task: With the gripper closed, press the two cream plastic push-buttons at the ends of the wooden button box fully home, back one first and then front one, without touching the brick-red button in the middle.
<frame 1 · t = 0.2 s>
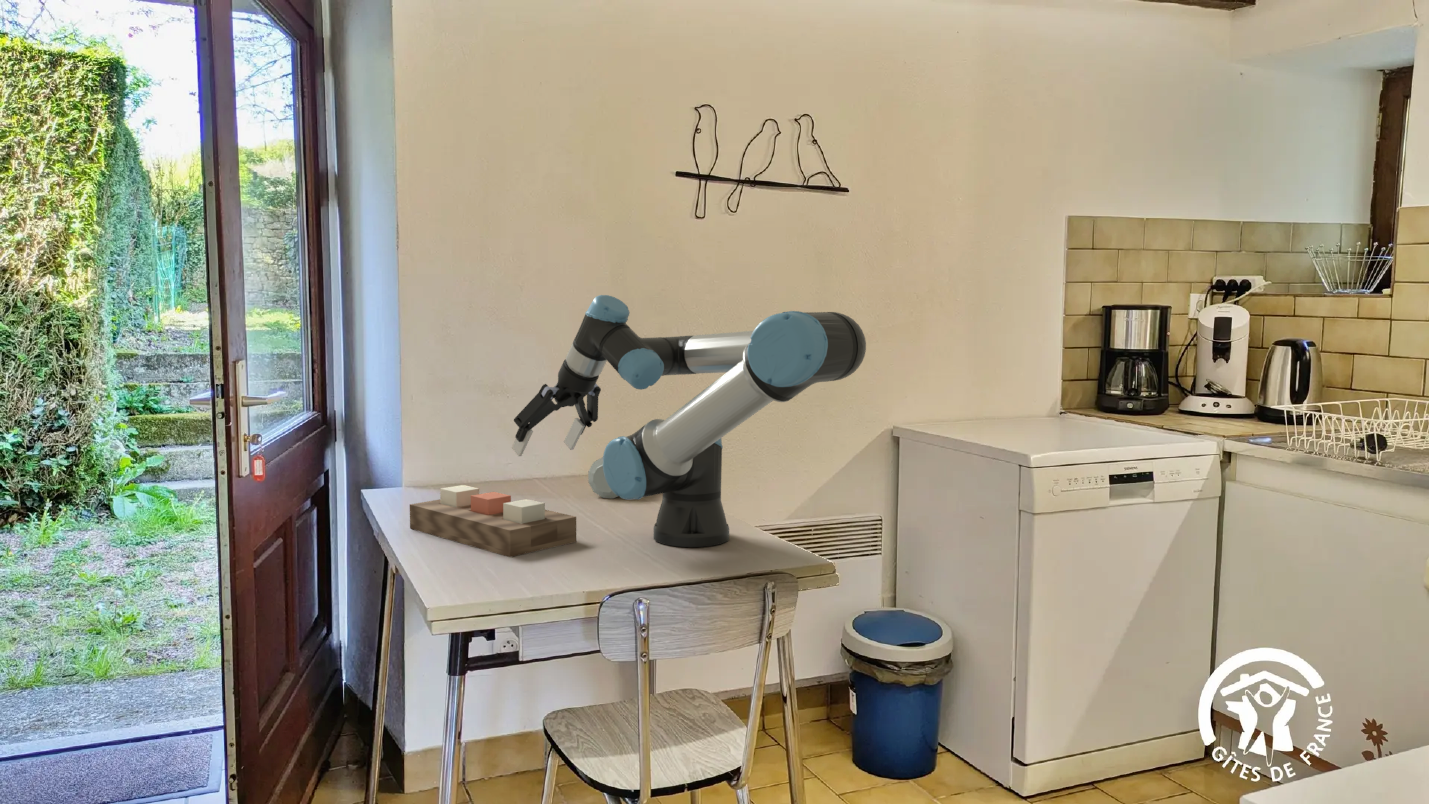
hand: (543, 448, 206), 16 cm above the table, tool tilted 35°, fingers open, 13 cm apart
button front: (524, 514, 192), point 6 cm above the table, slide at 0.0 cm
button middle: (490, 506, 199), point 6 cm above the table, slide at 0.0 cm
button back: (459, 499, 206), point 6 cm above the table, slide at 0.0 cm
device: (624, 488, 251), on the table
wooden button box: (491, 534, 200), on the table
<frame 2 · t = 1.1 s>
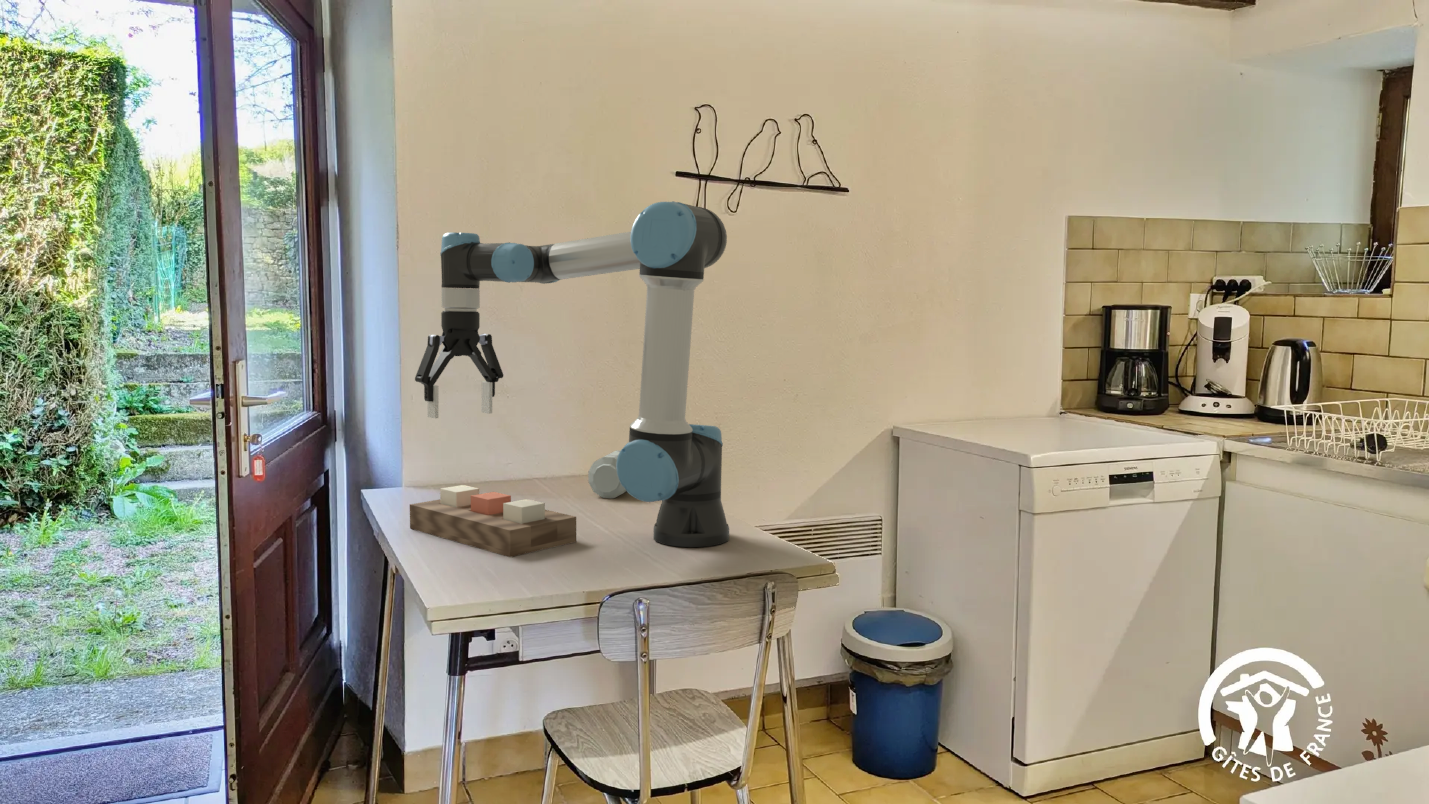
hand: (460, 415, 204), 23 cm above the table, tool pointing down, fingers open, 12 cm apart
nothing on the table moved.
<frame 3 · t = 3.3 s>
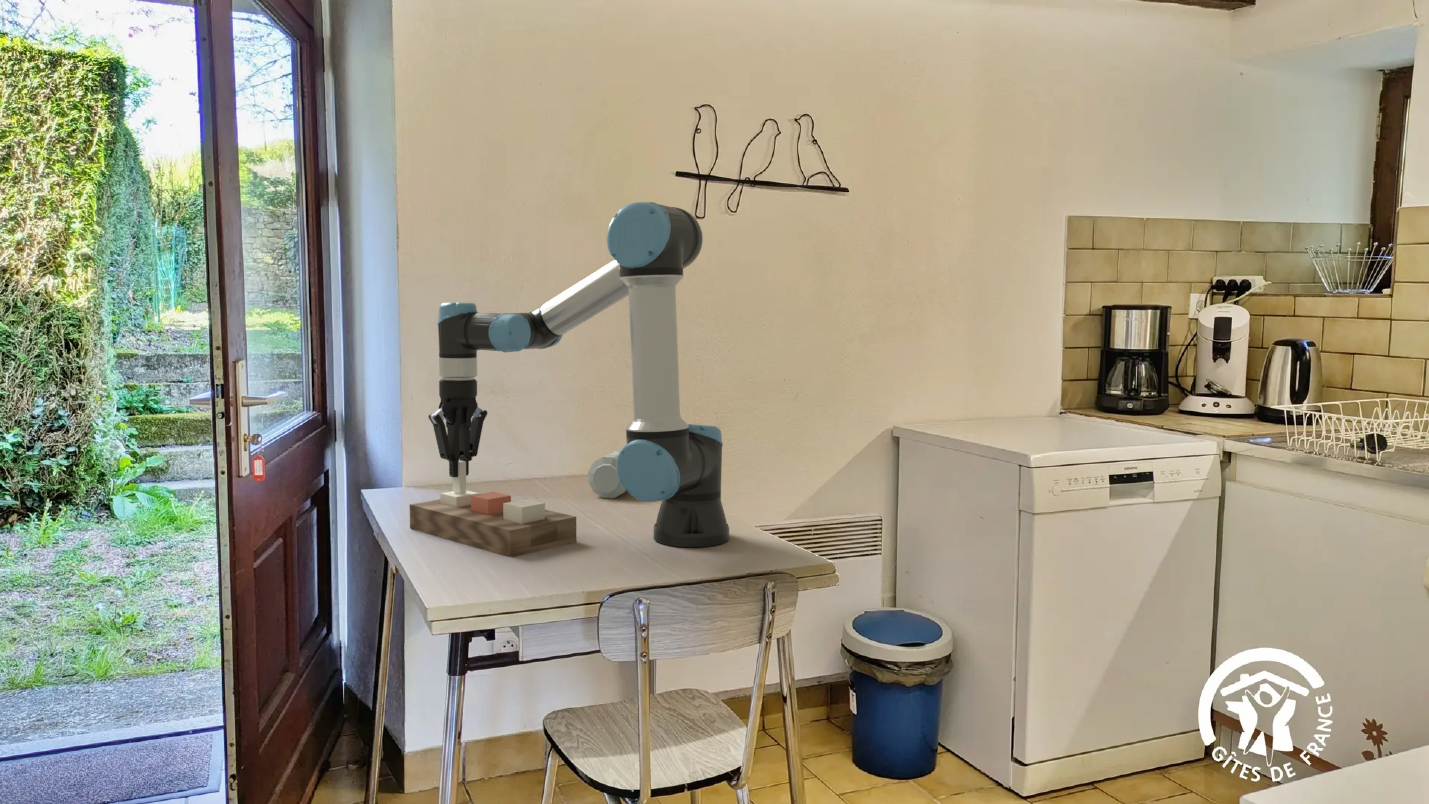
hand: (459, 491, 206), 7 cm above the table, tool pointing down, fingers closed
button back: (460, 504, 206), point 5 cm above the table, slide at 1.0 cm, touching gripper
everything else where it was.
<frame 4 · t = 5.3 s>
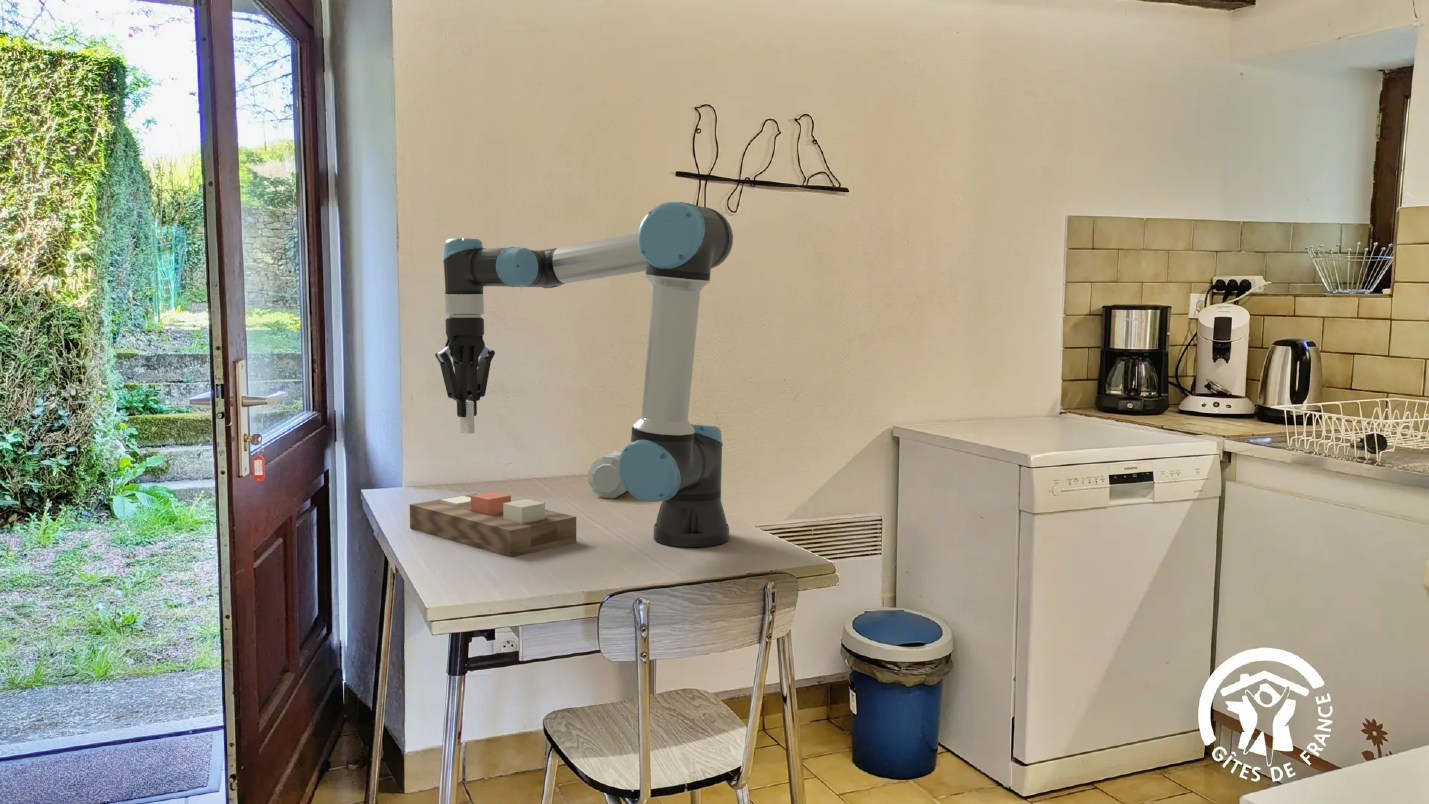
hand: (467, 432, 203), 20 cm above the table, tool pointing down, fingers closed
button back: (460, 510, 206), point 3 cm above the table, slide at 2.3 cm
everything else where it was.
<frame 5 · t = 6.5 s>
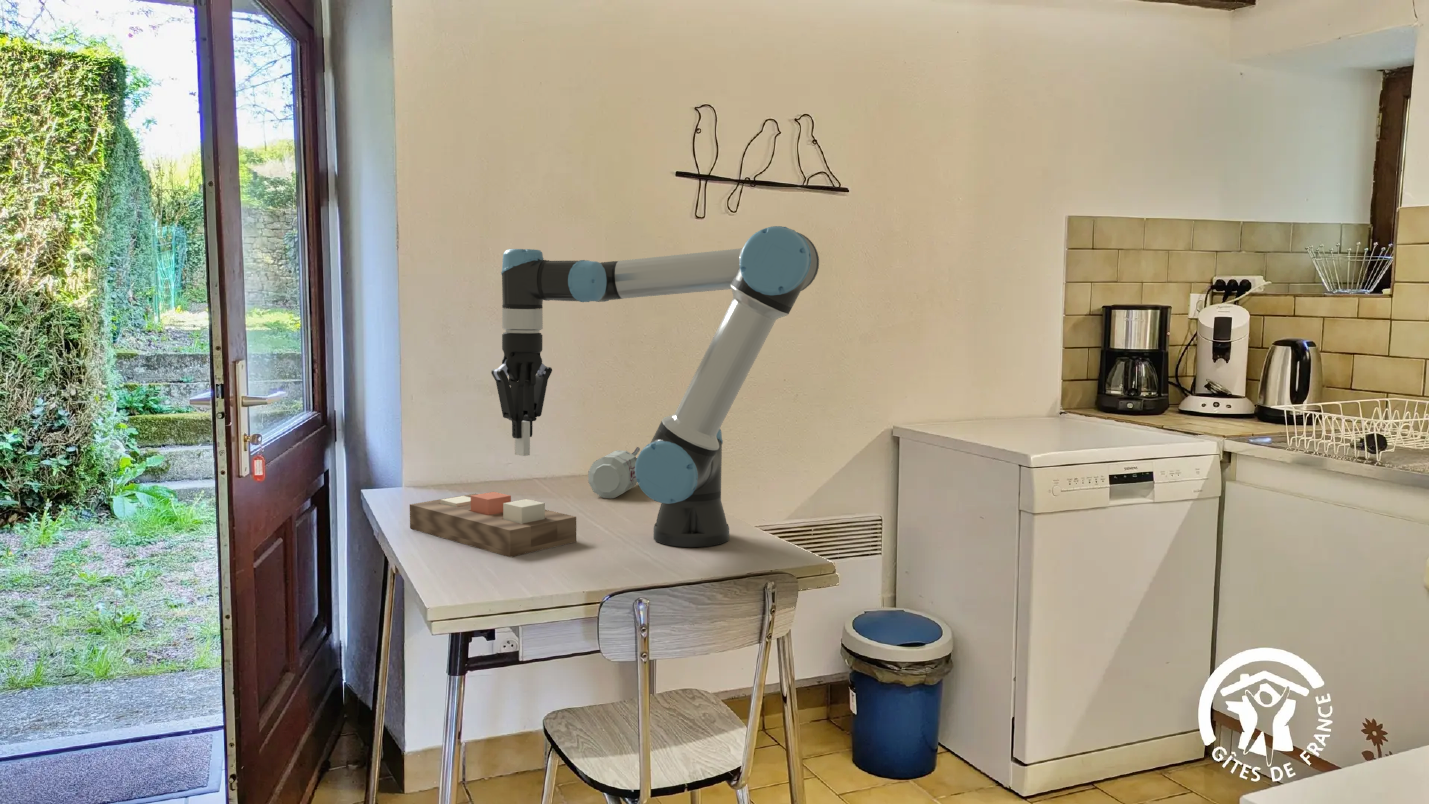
hand: (522, 454, 191), 17 cm above the table, tool pointing down, fingers closed
nothing on the table moved.
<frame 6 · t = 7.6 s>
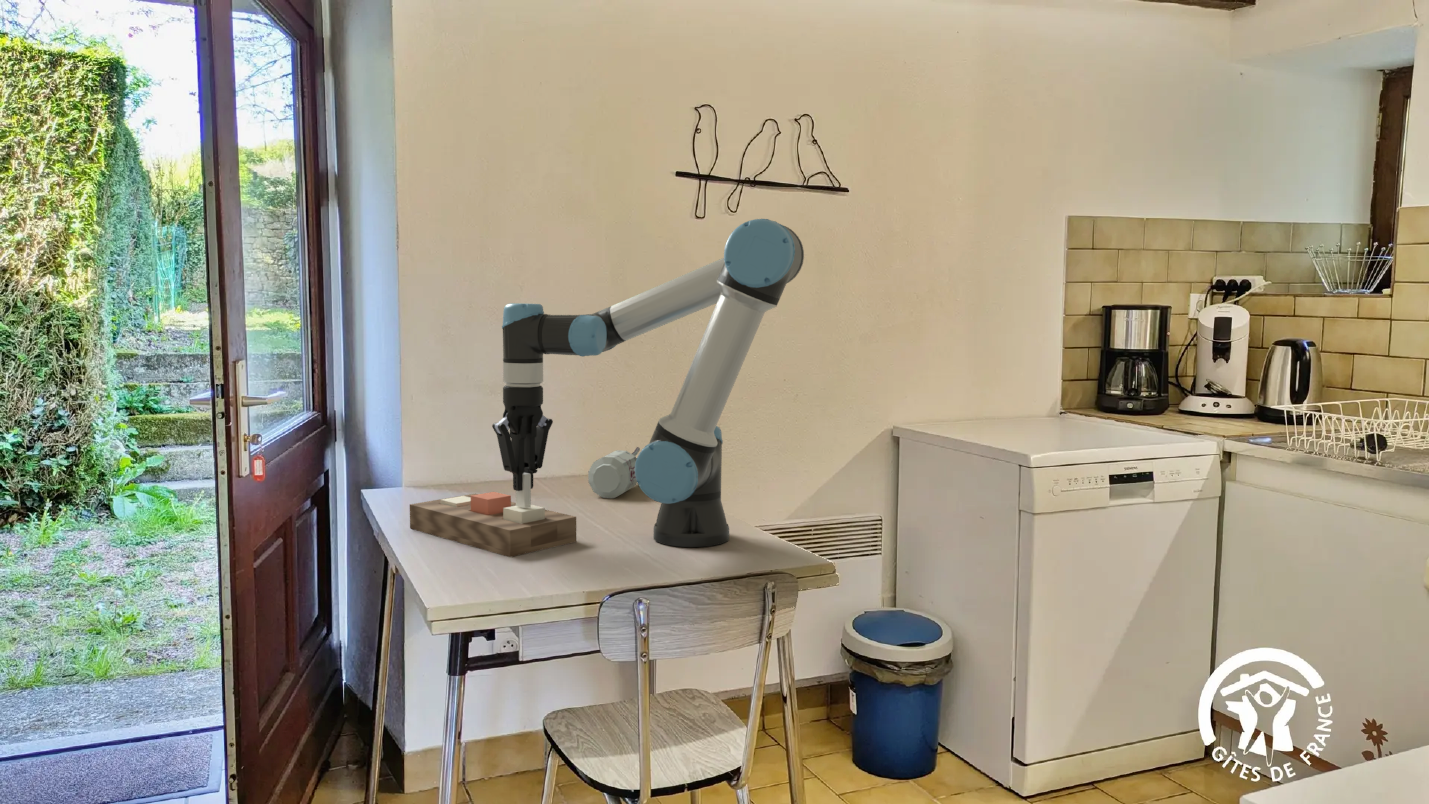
hand: (523, 506, 192), 7 cm above the table, tool pointing down, fingers closed
button front: (524, 519, 192), point 5 cm above the table, slide at 0.9 cm, touching gripper
everything else where it was.
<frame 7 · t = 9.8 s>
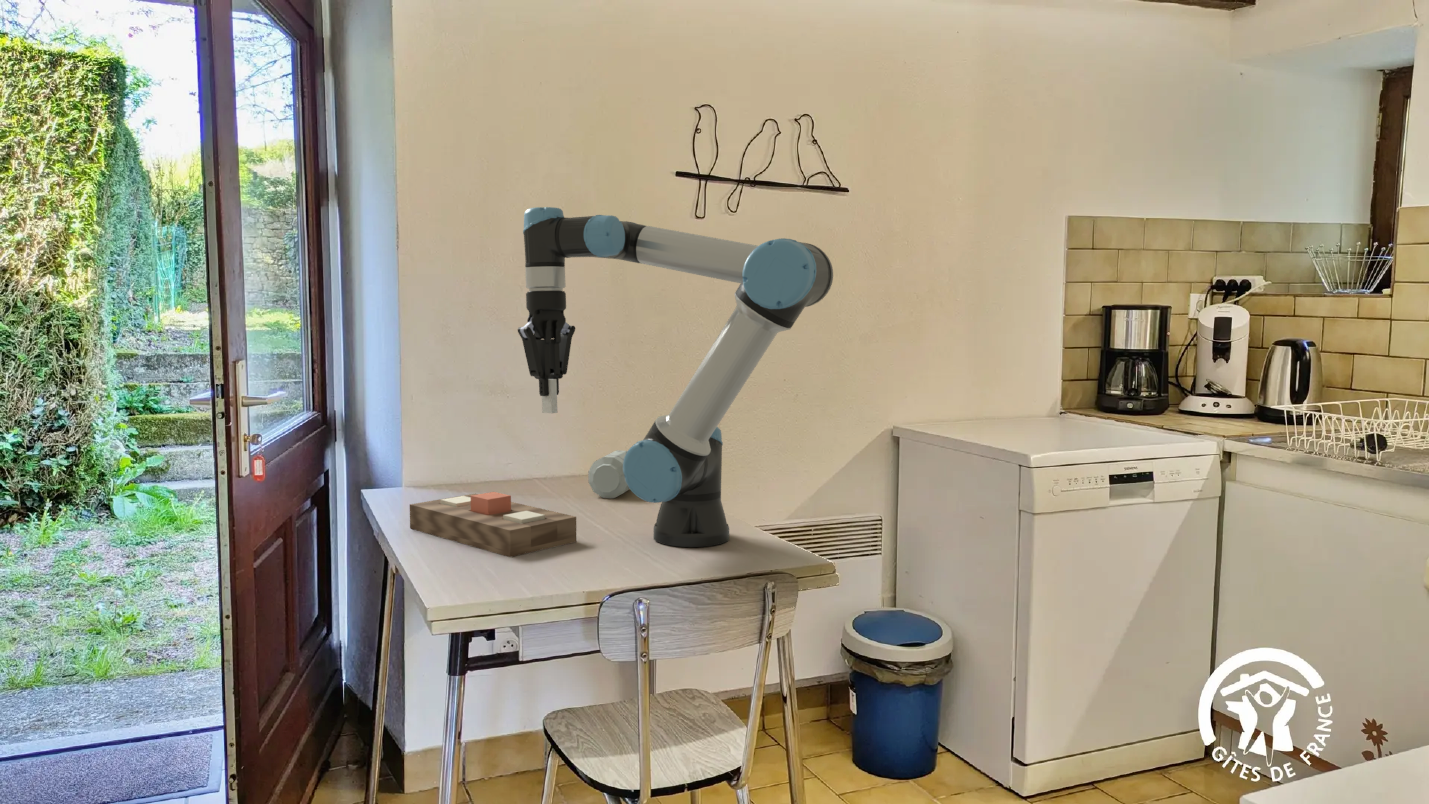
hand: (549, 412, 193), 25 cm above the table, tool pointing down, fingers closed
button front: (524, 526, 192), point 3 cm above the table, slide at 2.3 cm
everything else where it was.
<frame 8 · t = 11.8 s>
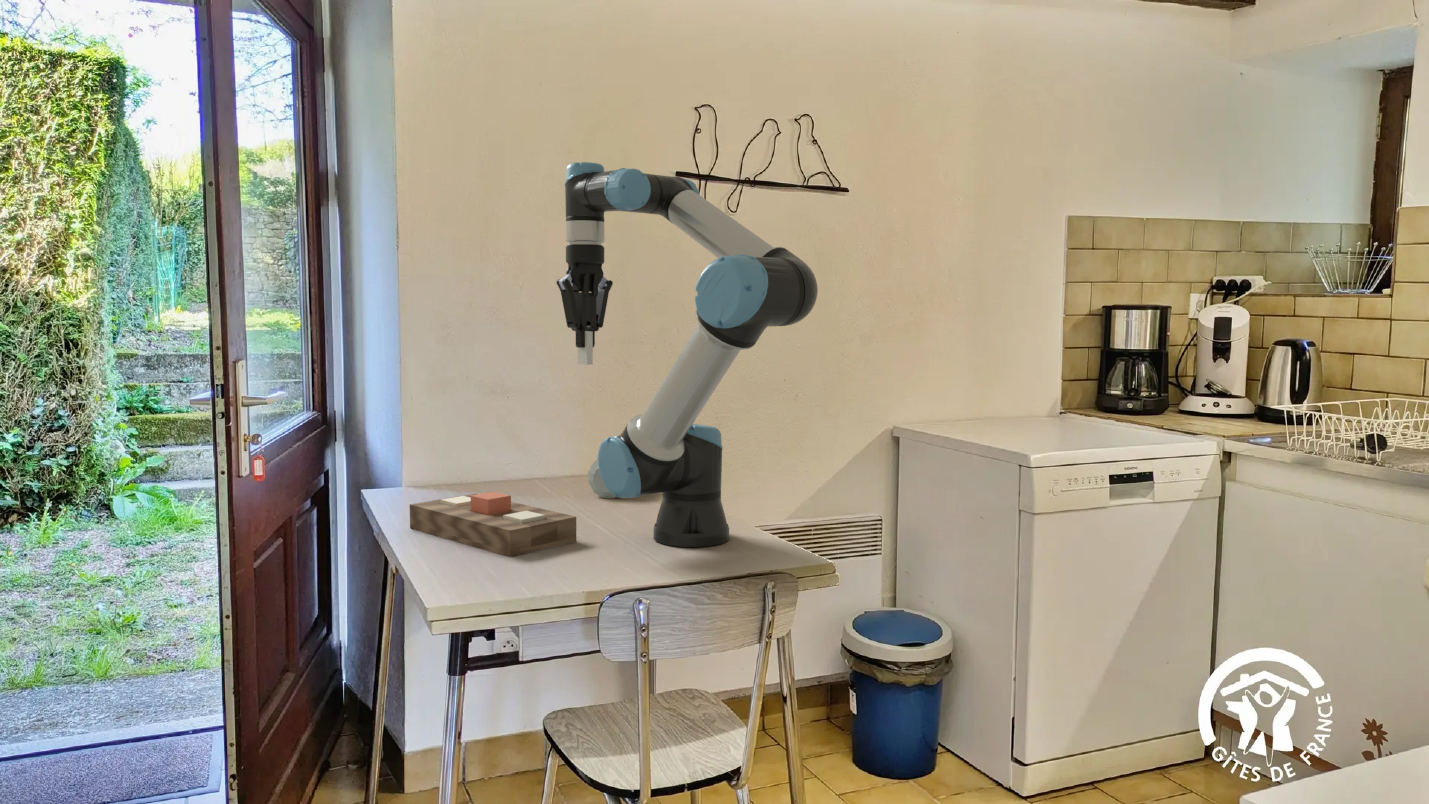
hand: (585, 364, 198), 34 cm above the table, tool pointing down, fingers closed
nothing on the table moved.
at the end: button back slide at 2.3 cm; button front slide at 2.3 cm; button middle slide at 0.0 cm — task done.
